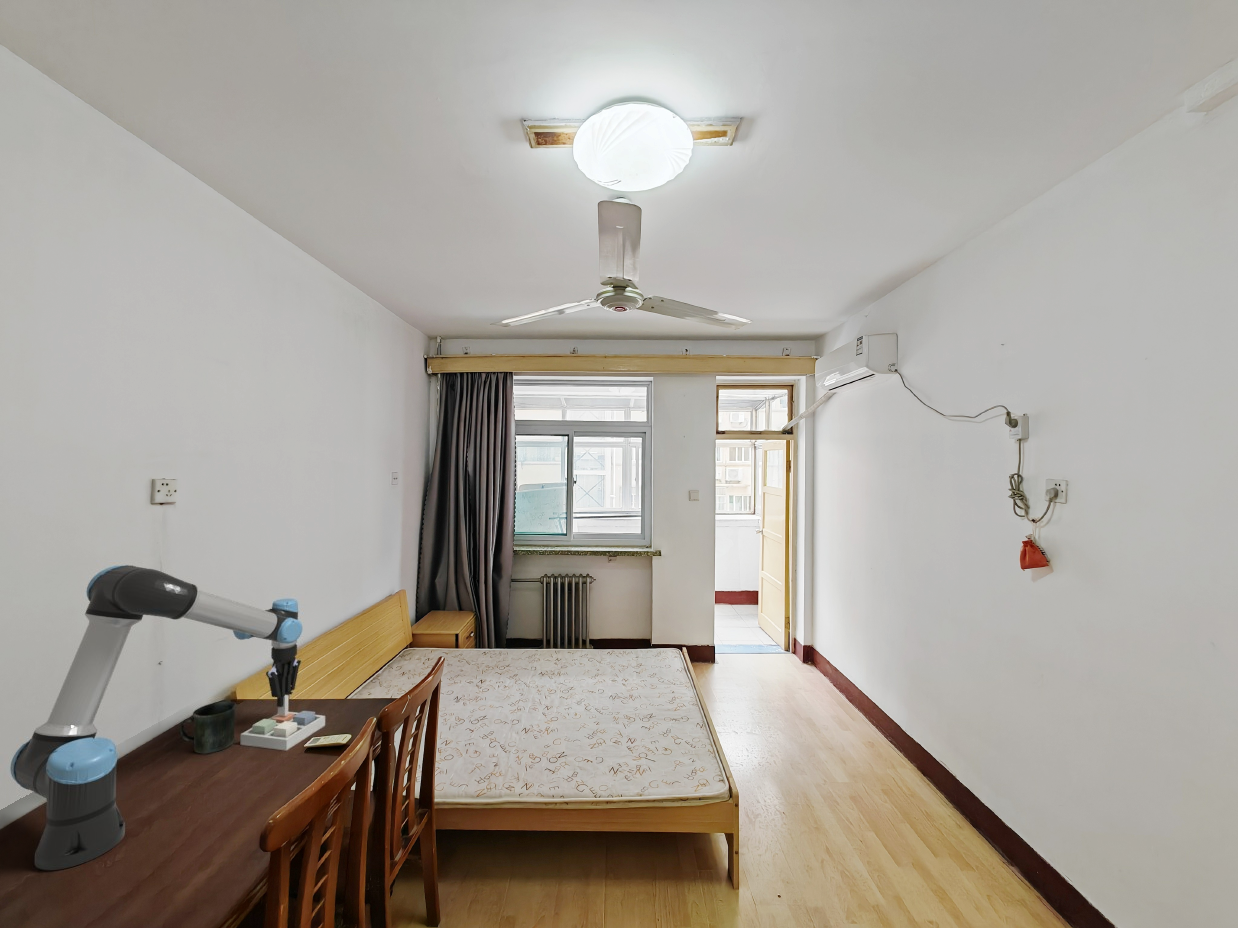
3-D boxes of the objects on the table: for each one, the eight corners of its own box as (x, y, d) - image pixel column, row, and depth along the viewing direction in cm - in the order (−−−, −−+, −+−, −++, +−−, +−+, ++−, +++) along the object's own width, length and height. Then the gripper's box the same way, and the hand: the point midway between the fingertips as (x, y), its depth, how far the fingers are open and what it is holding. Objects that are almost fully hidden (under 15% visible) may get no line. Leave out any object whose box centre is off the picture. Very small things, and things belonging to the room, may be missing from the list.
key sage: (264, 736, 178) (264, 726, 178) (252, 734, 178) (252, 724, 178) (275, 729, 182) (276, 719, 182) (263, 727, 183) (264, 718, 183)
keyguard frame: (286, 750, 174) (286, 739, 174) (240, 744, 177) (240, 733, 177) (325, 725, 190) (325, 715, 190) (282, 720, 193) (282, 710, 193)
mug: (232, 750, 173) (232, 712, 173) (174, 760, 167) (174, 720, 167) (239, 735, 183) (239, 698, 183) (184, 743, 177) (185, 706, 177)
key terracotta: (283, 729, 185) (284, 719, 185) (272, 727, 186) (272, 718, 186) (294, 722, 190) (294, 713, 190) (282, 721, 191) (283, 712, 191)
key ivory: (286, 738, 176) (286, 729, 176) (273, 737, 177) (273, 727, 177) (297, 731, 181) (297, 722, 181) (284, 730, 181) (284, 721, 181)
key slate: (304, 727, 184) (304, 717, 184) (292, 725, 185) (292, 716, 185) (314, 720, 188) (315, 711, 188) (303, 719, 189) (303, 710, 189)
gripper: (278, 652, 181) (277, 724, 181) (308, 640, 194) (306, 707, 194) (259, 650, 182) (257, 722, 182) (289, 638, 195) (288, 705, 195)
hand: (283, 714), depth 188 cm, fingers closed
